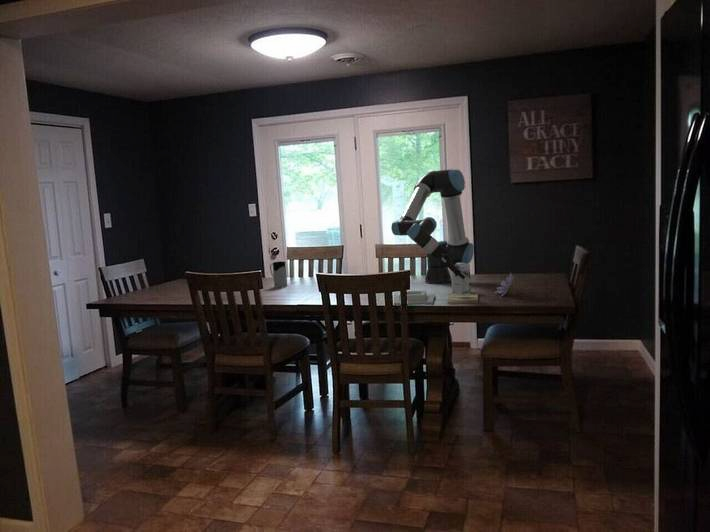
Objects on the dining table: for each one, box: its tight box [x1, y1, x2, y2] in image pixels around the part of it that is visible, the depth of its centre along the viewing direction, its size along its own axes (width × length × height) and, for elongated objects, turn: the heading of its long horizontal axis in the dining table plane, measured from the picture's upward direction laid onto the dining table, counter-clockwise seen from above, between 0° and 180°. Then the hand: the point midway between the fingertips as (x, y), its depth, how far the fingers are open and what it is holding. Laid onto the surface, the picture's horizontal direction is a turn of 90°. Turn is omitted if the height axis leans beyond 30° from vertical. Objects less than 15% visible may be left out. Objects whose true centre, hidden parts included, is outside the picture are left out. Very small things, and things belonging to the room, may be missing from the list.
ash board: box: [447, 293, 479, 305], centre depth 285 cm, size 18×14×1 cm
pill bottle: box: [450, 263, 463, 294], centre depth 305 cm, size 8×8×15 cm
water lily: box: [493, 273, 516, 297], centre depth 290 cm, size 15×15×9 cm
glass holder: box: [269, 261, 289, 288], centre depth 360 cm, size 9×14×15 cm, turn 41°
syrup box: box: [454, 263, 472, 295], centre depth 284 cm, size 6×6×14 cm
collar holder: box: [392, 290, 436, 306], centre depth 290 cm, size 20×20×4 cm
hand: (469, 281), depth 284 cm, fingers closed on syrup box, 8 cm apart
